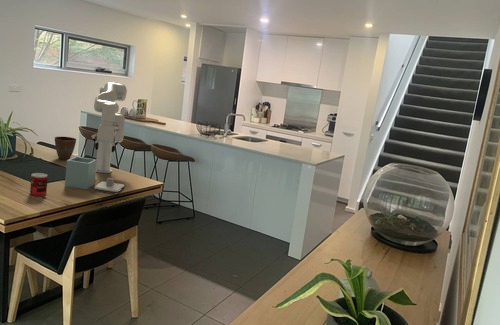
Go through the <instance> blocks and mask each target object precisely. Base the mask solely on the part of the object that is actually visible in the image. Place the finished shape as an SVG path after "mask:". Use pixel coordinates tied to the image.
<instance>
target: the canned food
mask: <svg viewBox="0 0 500 325" xmlns="http://www.w3.org/2000/svg"><path fill="white" fill-rule="evenodd" d="M48 176H49V175H48V174H47V173H43V172H34V173H31V175H30V187H29V188H30V189H29V193H30V195H31V196H34V197H44V196H45V195H47V192H48V190H47V189H48Z"/></svg>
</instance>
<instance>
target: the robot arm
mask: <svg viewBox="0 0 500 325" xmlns="http://www.w3.org/2000/svg"><path fill="white" fill-rule="evenodd" d="M127 92H128V89H127V86H126V85H125V84H123V83H118V82H117V83H116V82H106V83H104V85H103V86H102V87H100V88H99V94H98V95H96V97H95V99H94V104H93V109H94V111H95V112H97V113H101V117H100V118H101V119H100V124H99V125H98V129H97V132H96V133H94V134H92V135H91V139H92V141H93V142H94V149H95V150H96V160H97V163H96V173H101V174H109V173H112V171H113V170H112V168H111V159H112V153H114V152H115V151H116V146H117V145H119V143H122V142H123V140H124V136H125V124H126V123H125V122H126V121H125V120H126V119H125V115H123V114H122V113H121V114H120V113H118V112H119V110H120V107H119V104H118V103H117V101H118V102H124V101H126V98H127ZM110 143H111V144H110Z"/></svg>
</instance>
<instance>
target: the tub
mask: <svg viewBox="0 0 500 325" xmlns="http://www.w3.org/2000/svg"><path fill="white" fill-rule="evenodd" d="M96 163H97V158H96V159H95V158H88V157H81V156H74V157H70V159H69V160H66V168H65V180H64V187H68V188H74V189H75V188H76V189H81V190H82V189H83V190H88V189H90V188H91V187H92V186H95V183H96V175H97V174H96V173H97V172H96Z"/></svg>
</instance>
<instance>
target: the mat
mask: <svg viewBox="0 0 500 325" xmlns="http://www.w3.org/2000/svg"><path fill="white" fill-rule="evenodd" d="M121 190H122V189H121ZM121 190H120V191H118V192H111V191H104V190H98V189H94V190H93V191H94V192H100V191H101V193H107V192H109V193H108V194H114V193H117V194H116V195H118V194H119V193H121V192H122V191H123V190H122V191H121Z"/></svg>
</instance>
